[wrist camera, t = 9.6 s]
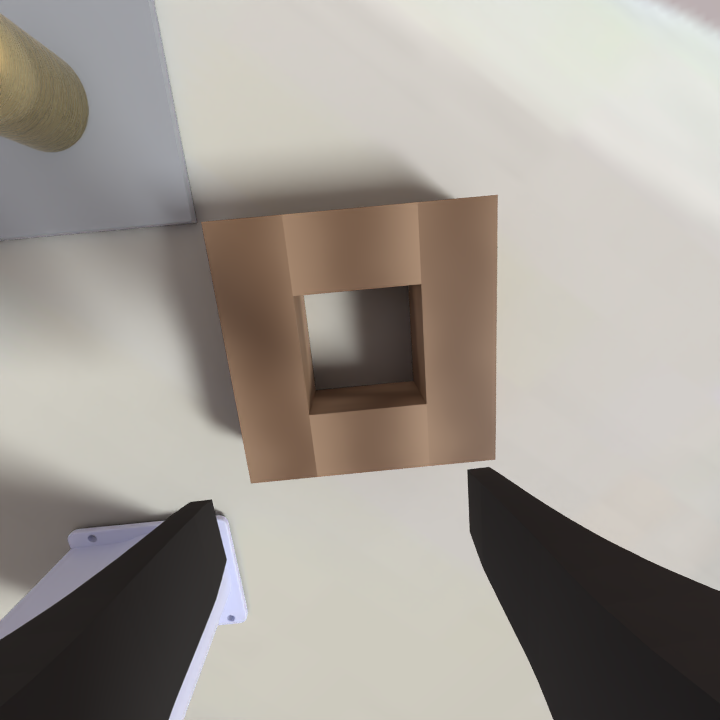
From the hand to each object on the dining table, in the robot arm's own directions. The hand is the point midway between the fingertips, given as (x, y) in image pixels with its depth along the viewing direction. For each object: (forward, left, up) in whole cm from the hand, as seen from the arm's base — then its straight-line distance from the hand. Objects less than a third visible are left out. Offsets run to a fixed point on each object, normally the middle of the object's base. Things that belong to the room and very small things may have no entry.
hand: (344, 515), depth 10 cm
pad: (-12, +15, -10) cm, 22 cm away
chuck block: (+1, +3, -10) cm, 11 cm away
